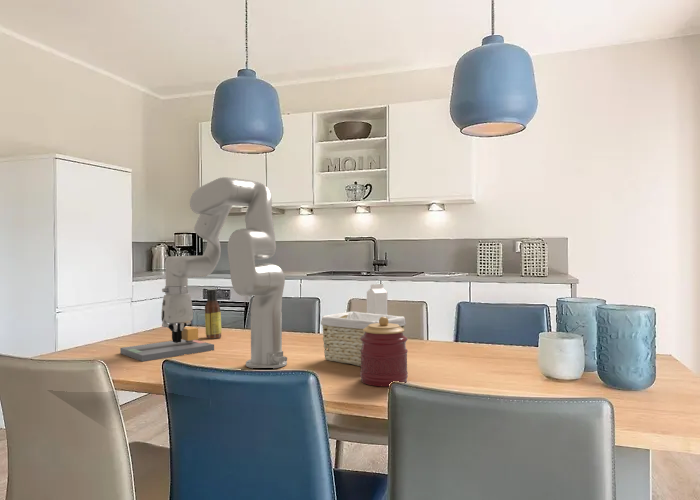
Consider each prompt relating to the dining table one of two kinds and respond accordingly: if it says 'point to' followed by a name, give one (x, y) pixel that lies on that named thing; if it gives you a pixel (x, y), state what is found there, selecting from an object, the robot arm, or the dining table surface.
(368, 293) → the milk
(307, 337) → the dining table surface
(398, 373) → the canister
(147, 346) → the switch board
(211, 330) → the sauce bottle
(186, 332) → the switch knob
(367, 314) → the storage basket
